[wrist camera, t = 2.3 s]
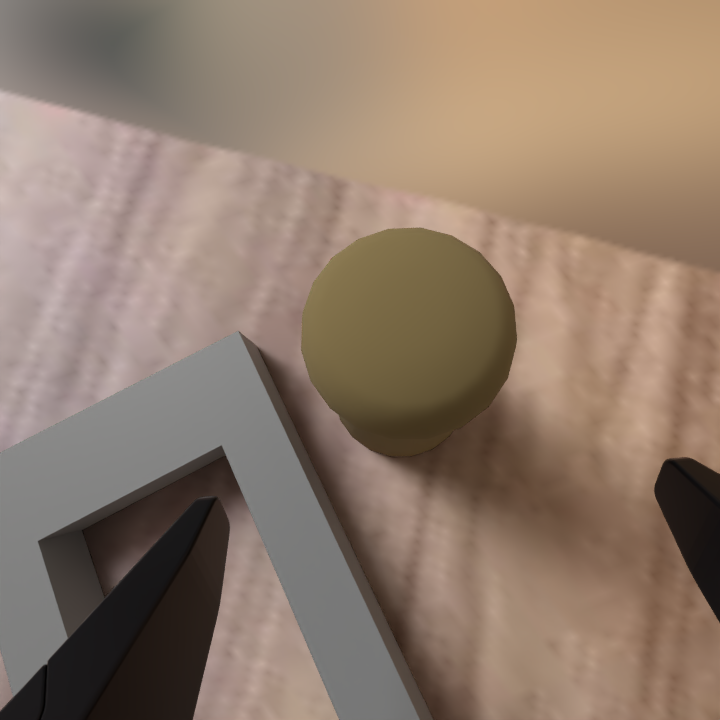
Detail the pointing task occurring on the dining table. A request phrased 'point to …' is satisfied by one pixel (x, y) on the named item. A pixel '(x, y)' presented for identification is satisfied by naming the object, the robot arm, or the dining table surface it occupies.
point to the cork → (408, 338)
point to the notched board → (164, 466)
